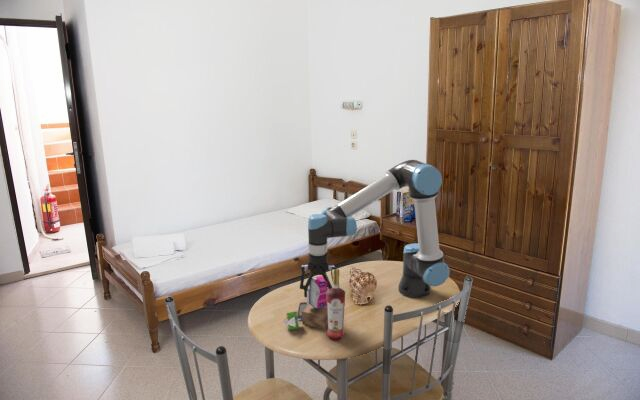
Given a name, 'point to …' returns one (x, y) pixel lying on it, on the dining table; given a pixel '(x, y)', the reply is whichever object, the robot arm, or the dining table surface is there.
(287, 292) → the dining table surface
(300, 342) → the dining table surface
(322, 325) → the walnut pedestal block
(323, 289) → the supplement box
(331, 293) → the liquor
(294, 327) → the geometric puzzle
